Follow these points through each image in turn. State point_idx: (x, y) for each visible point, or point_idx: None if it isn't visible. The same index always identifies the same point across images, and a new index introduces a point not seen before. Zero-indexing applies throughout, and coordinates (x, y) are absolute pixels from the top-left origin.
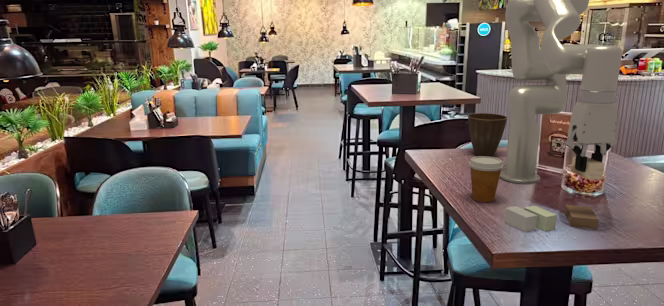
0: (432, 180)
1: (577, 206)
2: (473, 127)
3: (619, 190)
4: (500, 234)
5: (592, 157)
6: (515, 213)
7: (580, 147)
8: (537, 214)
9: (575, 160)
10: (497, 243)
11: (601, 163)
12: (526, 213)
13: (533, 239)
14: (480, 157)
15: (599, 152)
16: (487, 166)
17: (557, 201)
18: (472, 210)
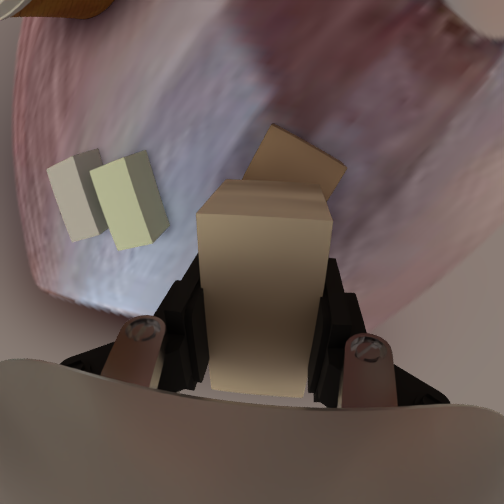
0: None
1: (301, 153)
2: None
3: None
4: (50, 227)
5: (318, 319)
6: (59, 205)
7: (153, 382)
8: (108, 219)
9: (162, 301)
10: (41, 261)
11: (283, 395)
12: (79, 217)
13: (99, 263)
14: None
15: (324, 404)
16: None
17: (326, 20)
18: (36, 83)
